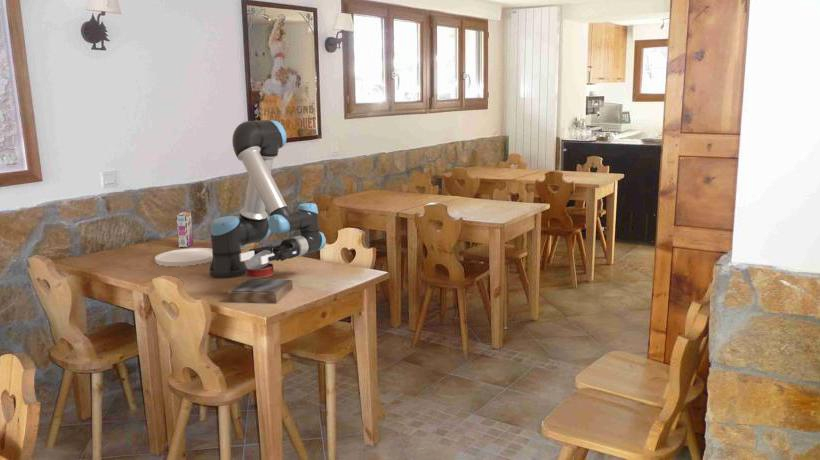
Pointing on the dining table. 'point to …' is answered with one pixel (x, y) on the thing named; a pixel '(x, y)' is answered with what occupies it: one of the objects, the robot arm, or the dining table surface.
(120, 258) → the dining table surface
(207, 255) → the plate
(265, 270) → the canned food
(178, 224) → the candy bar box
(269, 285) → the display podium
